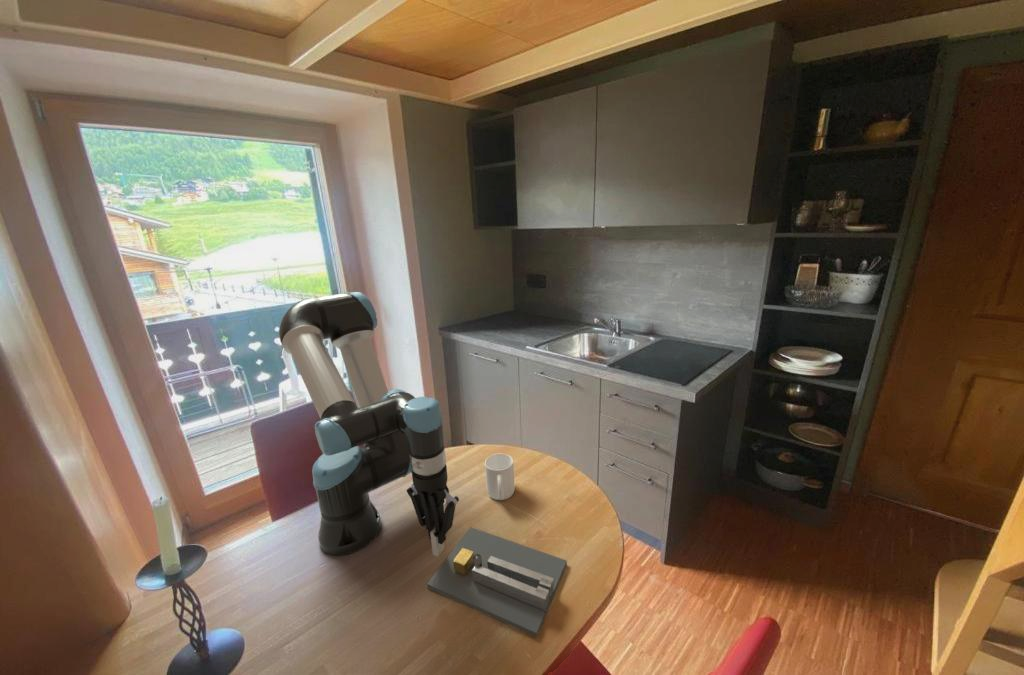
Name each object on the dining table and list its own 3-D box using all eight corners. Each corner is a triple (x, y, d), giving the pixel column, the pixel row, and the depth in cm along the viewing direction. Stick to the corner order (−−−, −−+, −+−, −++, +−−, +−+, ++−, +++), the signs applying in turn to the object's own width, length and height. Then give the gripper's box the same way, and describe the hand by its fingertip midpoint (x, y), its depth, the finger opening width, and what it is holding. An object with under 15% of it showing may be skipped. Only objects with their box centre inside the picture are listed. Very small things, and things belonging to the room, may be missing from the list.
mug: (516, 509, 108) (514, 477, 105) (486, 511, 108) (484, 479, 105) (513, 481, 120) (512, 452, 117) (487, 483, 119) (484, 454, 116)
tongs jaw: (486, 574, 87) (485, 563, 86) (491, 566, 89) (490, 555, 88) (550, 598, 81) (550, 587, 80) (554, 589, 83) (553, 578, 82)
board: (427, 588, 86) (427, 583, 86) (470, 530, 101) (470, 527, 101) (536, 637, 75) (536, 632, 74) (566, 564, 90) (566, 560, 90)
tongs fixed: (469, 580, 86) (468, 564, 85) (477, 568, 89) (475, 552, 88) (545, 611, 78) (544, 594, 77) (551, 597, 81) (550, 581, 80)
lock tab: (454, 570, 88) (452, 560, 87) (463, 557, 92) (462, 547, 91) (465, 575, 87) (464, 565, 86) (474, 561, 90) (473, 551, 89)
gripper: (394, 469, 85) (406, 554, 92) (443, 484, 79) (453, 573, 86) (416, 450, 91) (426, 531, 98) (463, 463, 86) (470, 548, 93)
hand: (438, 551), depth 92 cm, fingers closed
